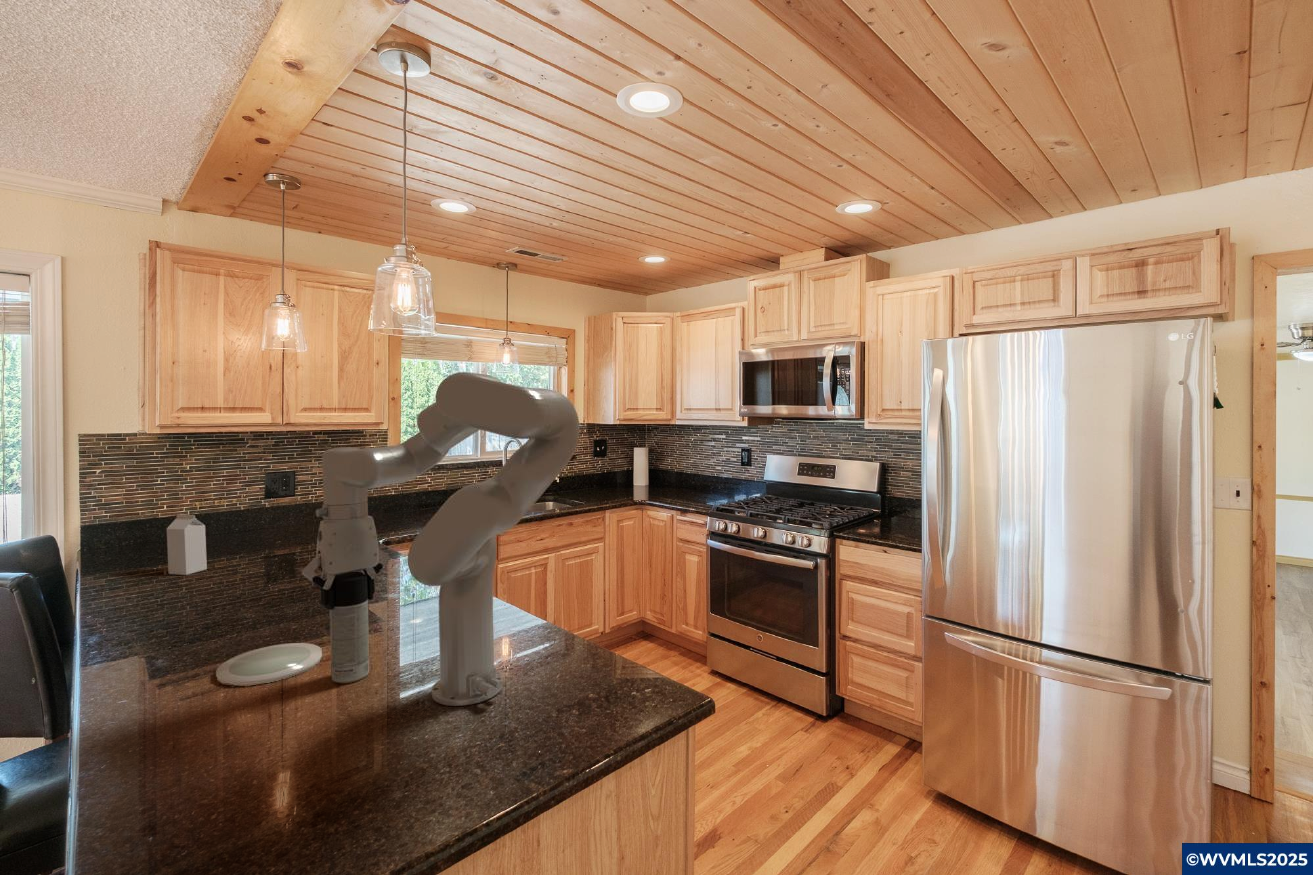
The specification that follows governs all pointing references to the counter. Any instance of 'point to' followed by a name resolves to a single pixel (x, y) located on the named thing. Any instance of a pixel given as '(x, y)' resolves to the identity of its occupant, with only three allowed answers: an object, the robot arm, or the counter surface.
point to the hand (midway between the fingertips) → (348, 602)
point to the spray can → (349, 628)
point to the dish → (269, 664)
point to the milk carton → (186, 545)
